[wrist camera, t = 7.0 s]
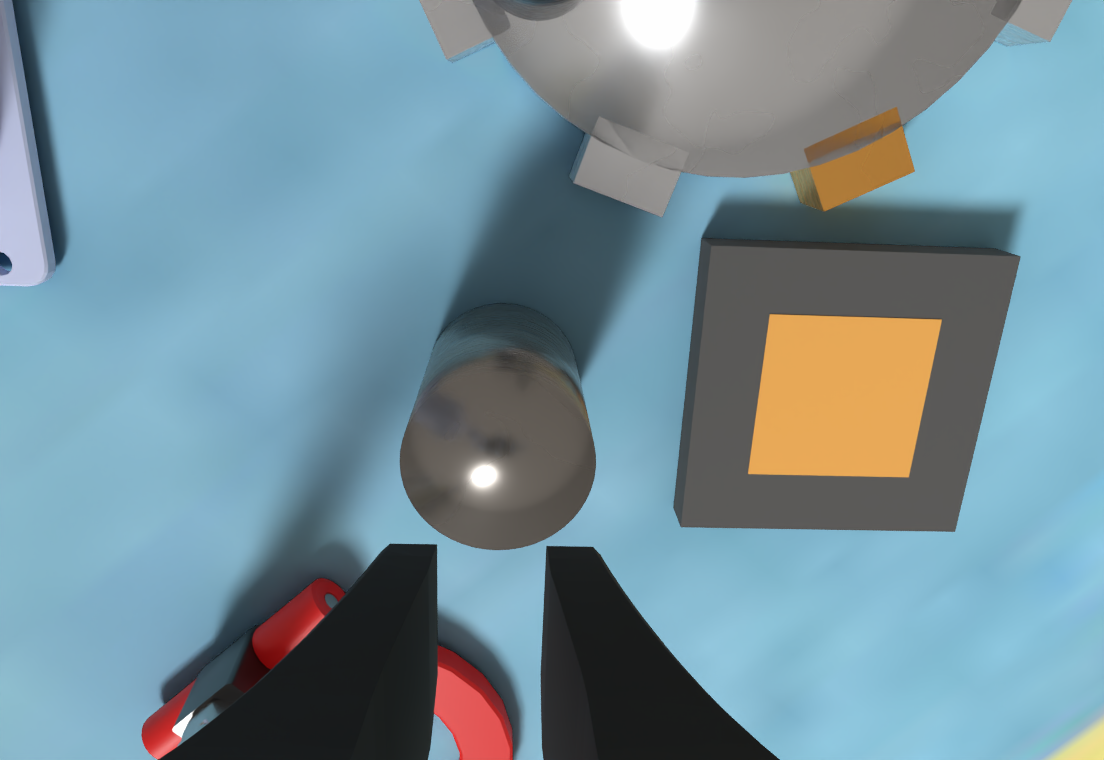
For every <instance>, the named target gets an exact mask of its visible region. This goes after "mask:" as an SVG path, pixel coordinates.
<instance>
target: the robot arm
mask: <svg viewBox="0 0 1104 760" xmlns="http://www.w3.org/2000/svg"><path fill="white" fill-rule="evenodd" d="M0 252H2V253H4V254H6V255H7V256H8V257H9V258H10V260H11V262H12V270H11V271H7V270H5V269H4V268H3V267H2V266H1V265H0V285H5V286H33V285H38V284H41V283H43V282H45V281H47V280H48V279H50V278H51V277H52V275H53V274H54V272H55V263H56V262H55V256H54V250H53V244H52V237H51V231H50V225H49V219H48V213H47V207H46V201H45V195H44V189H43V183H42V177H41V171H40V165H39V159H38V153H37V147H36V141H35V135H34V129H33V123H32V117H31V111H30V105H29V99H28V93H27V87H26V81H25V75H24V69H23V63H22V57H21V51H20V45H19V39H18V33H17V27H16V21H15V15H14V9H13V3H12V0H0ZM437 677H438V630H437V545H434V544H389V545H388V546H387V547H386V548H385V549H384V550H383V551H381V553H380V554H379V555H378V556H377V557H376V559H375V560H374V561H373V562H372V563H371V565H370V566H369V567H368V568H367V569H366V571H365V572H364V573H363V574H362V575H361V577H360V578H359V579H358V580H357V581H356V582H355V584H354V585H353V586H352V587H351V588H350V589H349V590H348V592H347V593H346V594H345V595H344V596H343V597H342V598H341V599H340V601H339V602H338V603H337V604H336V605H335V606H334V607H333V608H332V609H331V610H330V611H329V612H328V613H327V614H326V615H325V617H324V618H323V619H322V620H321V621H320V622H319V623H318V624H317V625H316V626H315V627H314V628H313V629H312V630H311V631H310V632H309V633H308V635H307V636H306V637H305V638H304V639H303V640H302V641H301V642H300V643H299V644H298V645H296V646H295V647H294V648H293V649H292V650H291V651H290V652H289V653H288V654H287V655H286V656H285V657H284V658H283V659H282V660H281V661H280V662H278V663H277V664H276V665H275V666H274V667H273V668H272V669H271V670H270V671H269V672H268V673H267V674H266V675H265V676H264V677H263V678H261V679H260V680H259V681H258V682H257V683H256V684H255V685H254V686H253V687H252V688H250V689H249V690H248V691H247V692H246V693H245V694H243V695H242V696H241V697H240V698H239V699H238V700H236V701H235V702H234V703H233V704H232V705H231V706H229V707H228V708H227V709H226V710H224V711H223V712H222V713H221V714H220V715H218V716H217V717H216V718H215V719H213V720H212V721H211V722H209V723H208V724H207V725H206V726H204V727H203V728H202V729H200V730H199V731H198V732H197V733H195V734H194V735H193V736H191V737H190V738H189V739H187V740H186V741H184V742H183V743H182V744H180V745H179V746H178V747H176V748H175V749H173V750H172V751H170V752H169V753H167V754H166V755H164V756H163V757H161V758H160V759H158V760H428V755H429V751H430V745H431V736H432V726H433V717H434V707H435V697H436V687H437ZM541 720H542V751H543V759H544V760H780V759H778V758H777V757H776V756H775V755H774V754H772V753H771V752H770V751H769V750H767V749H766V748H765V747H764V746H763V745H762V744H760V743H759V742H758V741H757V740H756V739H755V738H754V737H753V736H752V735H751V734H749V733H748V732H747V731H746V730H745V729H744V728H743V727H742V726H741V725H740V724H739V723H737V722H736V721H735V720H734V719H733V718H732V717H731V716H730V715H729V714H728V713H726V712H725V711H724V710H723V709H722V708H721V707H720V706H719V705H718V704H717V703H716V701H715V700H714V699H713V698H712V697H711V696H710V695H709V694H708V693H707V692H706V691H705V690H704V689H703V688H702V687H701V686H700V685H699V684H698V682H697V681H696V680H695V679H694V678H693V677H692V676H691V675H690V674H689V673H688V671H687V670H686V669H685V668H684V667H683V666H682V665H681V664H680V662H679V661H678V660H677V659H676V658H675V657H674V655H673V654H672V653H671V652H670V651H669V650H668V648H667V647H666V646H665V645H664V643H663V642H662V641H661V640H660V638H659V637H658V636H657V635H656V633H655V632H654V631H653V630H652V628H651V627H650V626H649V625H648V623H647V622H646V621H645V619H644V618H643V617H642V616H641V614H640V613H639V612H638V610H637V609H636V608H635V606H634V605H633V603H632V602H631V601H630V599H629V598H628V596H627V595H626V594H625V592H624V591H623V589H622V588H621V586H620V585H619V583H618V582H617V580H616V579H615V577H614V576H613V574H612V573H611V571H610V570H609V568H608V567H607V565H606V563H605V562H604V560H603V558H602V557H601V555H600V554H599V553H598V552H597V551H596V550H595V549H594V548H593V547H566V546H547V547H546V569H545V591H544V613H543V635H542V657H541Z"/></svg>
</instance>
